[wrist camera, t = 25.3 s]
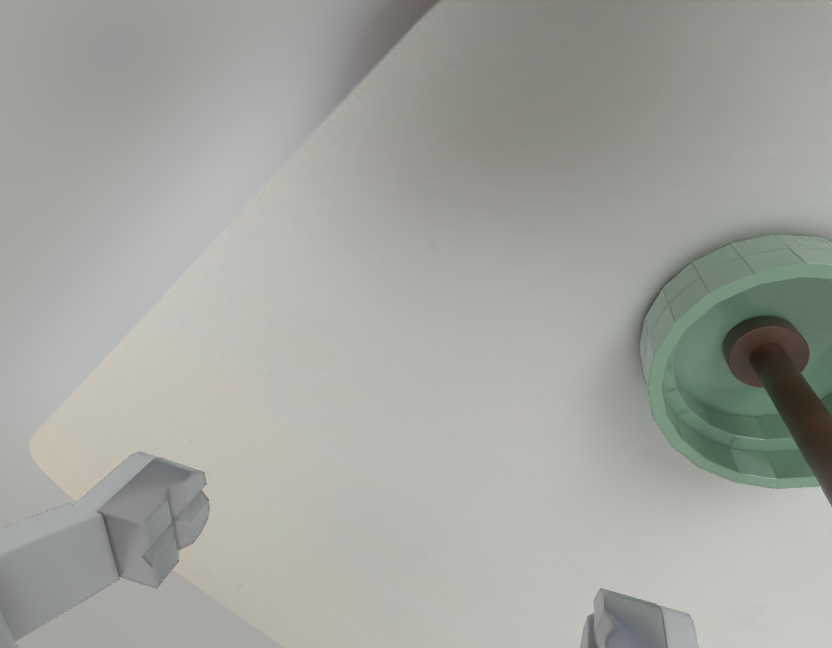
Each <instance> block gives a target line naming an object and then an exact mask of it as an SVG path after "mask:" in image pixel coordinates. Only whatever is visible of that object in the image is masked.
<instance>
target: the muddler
mask: <svg viewBox="0 0 832 648" xmlns="http://www.w3.org/2000/svg"><path fill="white" fill-rule="evenodd" d="M722 351H723V356H724V358H725V361H726V363H727V365H728V367H729V369H730V371H731V372H732V374H733V375H734V376H735V377H736V378H737V379H738V380H739V381H741V382H743V383H745V384H747V385H750V386H753V387H760V388H765V390H766V392H767V393H768V395H769V397H770V399H771V400H772V402H773V404H774V406H775V408H776V409H777V411H778V413H779V415H780V416H781V418H782V420H783V422H784V423H785V425H786V427H787V429H788V430H789V432H790V434H791V436H792V437H793V439H794V441H795V443H796V444H797V446H798V448H799V450H800V451H801V453H802V455H803V457H804V459H805V460H806V462H807V464H808V466H809V467H810V469H811V471H812V473H813V474H814V476H815V478H816V480H817V481H818V483H819V485H820V487H821V488H822V490H823V492H824V494H825V495H826V497H827V499H828V501H829V502H830V504H831V506H832V416H831V414H830V413H829V411H828V410H827V409H826V407H825V406H824V404H823V403H822V402H821V400H820V399H819V397H818V396H817V395H816V393H815V392H814V390H813V389H812V388H811V386H810V385H809V383H808V382H807V381H806V379H805V378H804V376H803V375H802V374H801V373H802V371H803V370H804V369H805V367H806V366H807V363H808V360H809V355H810V352H809V347H808V344H807V342H806V340H805V339H804V338H803V336H802V335H801V334H800V333H799V332H798V330H797V329H796V328H795V327H794V326H793V325H792V324H791V323H789V322H788V321H786V320H784V319H782V318H778V317H774V316H757V317H753V318H749V319H746V320H744V321H742V322H740V323H739V324H737V325H736V326H734V327H733V328H732V329H731V330H730V331H729V333H728V334H727V336H726V337H725V339H724V342H723V348H722Z"/></svg>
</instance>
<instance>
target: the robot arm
mask: <svg viewBox="0 0 832 648" xmlns="http://www.w3.org/2000/svg"><path fill="white" fill-rule="evenodd" d="M206 484H207V483H206V478H205V473H204V472H202V471H199V470H196V469H193V468H190V467H187V466H184V465H181V464H178V463H175V462H172V461H169V460H166V459H163V458H160V457H157V456H153V455H150V454H147V453H144V452H137V453H134V454H132V455H130V456H129V457H128V458H127V459H126V460H124V461H123V462H122V463H121V464H120V465H119V466H117V467H116V468H115V469H114V470H113V471H112V472H111V473H109V474H108V475H107V476H106V477H105V478H104V479H103V480H101V481H100V482H99V483H98V484H97V485H96V486H95V487H93V488H92V489H91V490H90V491H89V492H88V493H87V494H85V495H84V496H83V497H82V498H81V499H80V500H79V501H77V502H76V503H75V504H71V503H66V504H63V505H61V506H58V507H55V508H53V509H50V510H47V511H45V512H42V513H40V514H37V515H35V516H32V517H29V518H26V519H24V520H21V521H18V522H16V523H13V524H10V525H8V526H5V527H2V528H0V648H18V647H17V645H16V642H15V641H17V640H19V639H20V638H22V637H24V636H25V635H27V634H29V633H30V632H32V631H34V630H35V629H37V628H39V627H40V626H42V625H44V624H46V623H47V622H49V621H51V620H52V619H54V618H56V617H57V616H59V615H61V614H62V613H64V612H66V611H67V610H69V609H71V608H72V607H74V606H76V605H78V604H79V603H81V602H83V601H84V600H86V599H88V598H89V597H91V596H93V595H94V594H96V593H98V592H100V591H101V590H103V589H105V588H106V587H108V586H110V585H111V584H113V583H115V582H116V581H118V580H119V579H120V578H119V577H122V578H125V579H128V580H131V581H134V582H137V583H141V584H144V585H147V586H150V587H153V588H156V589H157V588H158V586H159V585H160V584H161V583H162V582H163V580H164V579H165V578H166V577H167V575H168V574H169V573H170V572H171V570H172V569H173V568H174V567H175V565H176V564H177V563H178V562H179V550H181V549H183V548H185V547H187V546H189V545H191V544H193V543H194V542H195V540H196V539H197V538H198V536H199V535H200V534H201V532H202V531H203V528H204V526H205V524H206V522H207V520H208V515H209V509H210V506H209V499H208V498H207V496H206V495H205V494H204V492H203V491H202V489H203V488H204V486H205V485H206ZM580 648H699V647H698V642H697V637H696V632H695V627H694V622H693V620H692V618H691V616H690V615H689V614H687V613H683V612H680V611H677V610H673V609H670V608H666V607H663V606H660V605H657V604H655V603H651V602H648V601H644V600H641V599H637V598H634V597H630V596H627V595H623V594H619V593H616V592H612V591H609V590H605V589H602V588H601V589H600V590H599V591H598V592H597V594H596V597H595V599H594V613H593V614H591V615H589V616H588V617H587V620H586V623H585V625H584V629H583V634H582V639H581V645H580Z"/></svg>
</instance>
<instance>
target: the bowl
mask: <svg viewBox="0 0 832 648" xmlns="http://www.w3.org/2000/svg"><path fill="white" fill-rule="evenodd" d="M757 316H774V317H778V318H782V319H784V320H786V321H788V322H789V323H791V324H792V325H793V326H794V327H795V328H796V329H797V330H798V332H799V333H800V334H801V335H802V336H803V338H804V339H805V340H806V342H807V344H808V347H809V352H810V355H809V360H808V363H807V366H806V367H805V369H804V370H803V371H802V373H801V374H802V375H803V376H804V378H805V379H806V381H807V382H808V383H809V385H810V386H811V388H812V389H813V390H814V392H815V393H816V395H817V396H818V397H819V399H820V400H821V402H822V403H823V404H824V406H825V407H826V409H827V410H828V411H829V413H830V414H831V416H832V241H829V240H826V239H824V238H821V237H811V236H793V235H768V236H763V237H758V238H753V239H749V240H744V241H739V242H734V243H730V244H728V245H726V246H724V247H722V248H720V249H718V250H716V251H714V252H712V253H710V254H708V255H706V256H704V257H702V258H700V259H697V260H695V261H693V262H692V263H690V264H689V265H688V266H687V267H685V268H684V269H683V270H682V271H681V272H680V273H679V274H678V275H676V276H675V277H674V278H673V279H672V280H671V281H670V282H669V283H667V284H666V285H665V286H664V287H663V289H662V290H661V291H660V293H659V295H658V296H657V298H656V300H655V301H654V303H653V305H652V306H651V308H650V310H649V311H648V313H647V315H646V316H645V319H644V324H643V329H642V334H641V339H640V344H639V351H640V357H641V362H642V367H643V372H644V377H645V382H646V387H647V392H648V396H649V401H650V406H651V411H652V416H653V418H654V420H655V422H656V423H657V425H658V426H659V428H660V430H661V431H662V433H663V434H664V436H665V437H666V439H667V440H668V442H669V443H670V445H671V446H672V447H673V448H675V449H676V450H677V451H678V452H680V453H681V454H682V455H683V456H685V457H686V458H687V459H689V460H690V461H691V462H692V463H694V464H695V465H696V466H697V467H699V468H701V469H704V470H706V471H709V472H711V473H713V474H716V475H718V476H721V477H723V478H725V479H728V480H730V481H733V482H736V483H743V484H749V485H755V486H761V487H768V488H776V489H782V488H801V487H819V486H820V485H819V483H818V481H817V480H816V478H815V476H814V474H813V473H812V471H811V469H810V467H809V466H808V464H807V462H806V460H805V459H804V457H803V455H802V453H801V451H800V450H799V448H798V446H797V444H796V443H795V441H794V439H793V437H792V436H791V434H790V432H789V430H788V429H787V427H786V425H785V423H784V422H783V420H782V418H781V416H780V415H779V413H778V411H777V409H776V408H775V406H774V404H773V402H772V400H771V399H770V397H769V395H768V393H767V392H766V390H765V388H760V387H753V386H750V385H747V384H745V383H743V382H741V381H739V380H738V379H737V378H736V377H735V376H734V375H733V374H732V372H731V371H730V369H729V367H728V365H727V363H726V361H725V358H724V356H723V351H722V348H723V342H724V339H725V337H726V336H727V334H728V333H729V331H730V330H731V329H732V328H733V327H734V326H736V325H737V324H739V323H740V322H742V321H744V320H746V319H749V318H753V317H757Z"/></svg>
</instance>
